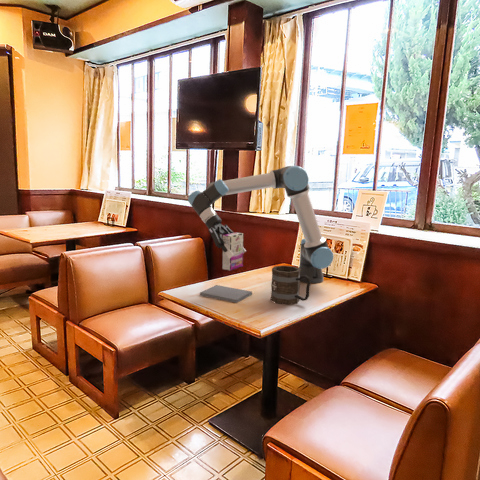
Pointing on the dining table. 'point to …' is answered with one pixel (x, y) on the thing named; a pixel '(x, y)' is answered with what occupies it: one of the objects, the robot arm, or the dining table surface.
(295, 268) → the mug
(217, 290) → the slate board
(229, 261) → the candy bar box
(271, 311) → the dining table surface
